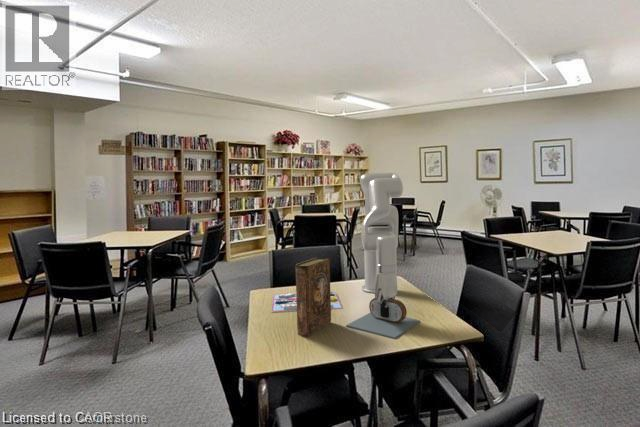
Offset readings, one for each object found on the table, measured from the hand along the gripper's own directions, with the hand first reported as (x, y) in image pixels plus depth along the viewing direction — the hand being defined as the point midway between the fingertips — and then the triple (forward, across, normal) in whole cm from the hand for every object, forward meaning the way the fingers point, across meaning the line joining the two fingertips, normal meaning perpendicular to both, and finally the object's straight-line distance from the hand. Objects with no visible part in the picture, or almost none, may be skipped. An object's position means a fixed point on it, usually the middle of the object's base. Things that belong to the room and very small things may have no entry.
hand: (387, 315), depth 145 cm
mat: (+3, +3, 0) cm, 4 cm away
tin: (+2, 0, 0) cm, 2 cm away
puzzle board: (+4, -1, -42) cm, 42 cm away
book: (+3, +21, -19) cm, 28 cm away
